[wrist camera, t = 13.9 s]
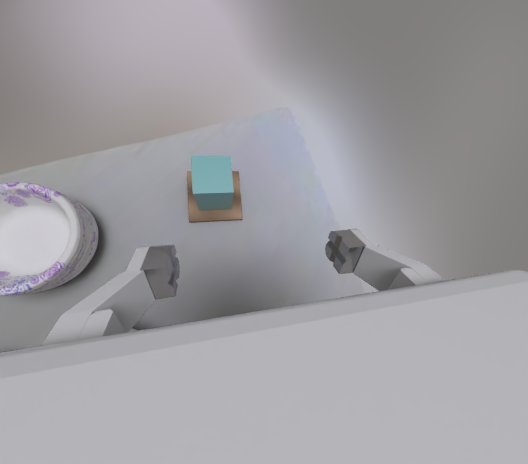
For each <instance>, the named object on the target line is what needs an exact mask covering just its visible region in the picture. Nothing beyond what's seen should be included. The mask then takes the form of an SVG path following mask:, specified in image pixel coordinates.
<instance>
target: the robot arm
mask: <svg viewBox="0 0 528 464" xmlns="http://www.w3.org/2000/svg"><path fill="white" fill-rule="evenodd" d="M328 238H329V240H330V241H329V242H328V243H327V244H326V248H325V251H326V255H327V257H328V259H329V260H330V261H332V262H334V263H333V266H334V267H335V269H336V270H337V272H338V273H339V274H345V273H354V274H355V275H357V276H358V277H359V278H361V279H362V280H364V281H365V282H367V283H368V284H370V285H371V286H373V287H374V288H376V289H377V290H379V291H378V292H372V293H366V294H360V295H353V296H347V297H341V298H335V299H329V300H322V301H316V302H310V303H304V304H298V305H292V306H286V307H279V308H273V309H267V310H261V311H255V312H249V313H243V314H237V315H230V316H224V317H218V318H212V319H206V320H200V321H194V322H187V323H181V324H175V325H169V326H163V327H157V328H151V329H144V330H138V331H132V332H129V331H130V330H131V329H132V328H133V326H134V325H135V324H136V323H137V322H138V321H139V319H140V318H141V317H142V316H143V315H144V314H145V312H146V311H147V310H148V309H149V308H150V306H151V305H152V304H153V303H154V302H155V301H156V299H162V298H168V297H174V296H176V291H177V286H178V284H177V281H176V280H177V279H178V278H179V273H180V266H179V260H178V258H177V257H175V255H176V249H175V246H174V245H161V246H147V247H138V248H137V249H136V251H135V253H134V255H133V257H132V259H131V261H130V263H129V265H128V267H127V270H126V272H123V273H120V274H119V275H117V276H116V277H115V278H113V279H112V280H110V281H109V282H108V283H106V284H105V285H103V286H102V287H100V288H99V289H98V290H96V291H95V292H93V293H92V294H91V295H89V296H88V297H86V298H85V299H83V300H82V301H81V302H79V303H78V304H76V305H75V306H74V307H72V308H71V309H69V310H68V311H66V312H65V313H64V314H62V315H61V317H60V318H59V320H58V321H57V323H56V324H55V326H54V327H53V329H52V330H51V332H50V333H49V335H48V336H47V338H46V339H45V341H44V342H43V344H42V345H41V346H40V347H34V348H28V349H22V350H16V351H9V352H3V353H0V464H528V272H525V271H521V270H506V271H500V272H495V273H488V274H482V275H477V276H470V277H464V278H458V279H452V280H443V278H441V277H440V276H439V275H438V274H436V273H435V272H434V271H433V270H431V269H430V268H429V267H428V266H426V265H425V264H422V263H420V262H418V261H415V260H413V259H410V258H408V257H406V256H403V255H401V254H398V253H396V252H394V251H391V250H389V249H386V248H384V247H381V246H379V245H375V244H374V243H373V242H371V241H370V240H369V239H368V238H367V237H366V236H365V235H364V234H363V233H362V232H361V231H360V230H358V229H348V230H340V231H331V232H330V234H329V237H328Z"/></svg>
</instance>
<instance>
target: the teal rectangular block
mask: <svg viewBox="0 0 528 464" xmlns="http://www.w3.org/2000/svg"><path fill="white" fill-rule="evenodd" d="M191 172H192V190H193V196H194V198H195V200H196V203H197V205H198V208H199V210H200V211H204V210H223V209H232V202H233V195H234V189H233V178H232V167H231V156H191Z"/></svg>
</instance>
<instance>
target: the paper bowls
mask: <svg viewBox="0 0 528 464" xmlns="http://www.w3.org/2000/svg"><path fill="white" fill-rule="evenodd" d="M97 244H98V227H97V224H96V221H95V218H94V217H93V216H92V214H91V213H90V211H89V210H88V209H86V208H85V207H84V206H83V205H81V204H80V203H79V202H77V201H75V200H73V199H71V198H69V197H67V196H65V195H63V194H61V193H59V192H57V191H55V190H53V189H51V188H48V187H45V186H41V185H38V184H33V183H6V184H0V296H14V295H21V294H29V293H36V292H41V291H46V290H49V289H52V288H55V287H58V286H60V285H62V284H64V283H66V282H68V281H70V280H71V279H73V278H74V277H76V276H77V275H78V274H80V273H81V272H82V271H83V270H84V268H85V267H86V266H87V265H88V264H89V262H90V261H91V259H92V257H93V256H94V254H95V251H96V248H97Z"/></svg>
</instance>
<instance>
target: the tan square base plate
mask: <svg viewBox="0 0 528 464" xmlns="http://www.w3.org/2000/svg"><path fill="white" fill-rule="evenodd" d="M232 178H233V189H234V195H233V202H232V209H223V210H204V211H200V210H199V208H198V205H197V203H196V200H195V198H194V196H193V190H192V172H191V171H187V185H188V209H189V222H209V221H228V220H242V207H241V195H240V184H239V172H238V171H232Z"/></svg>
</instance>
